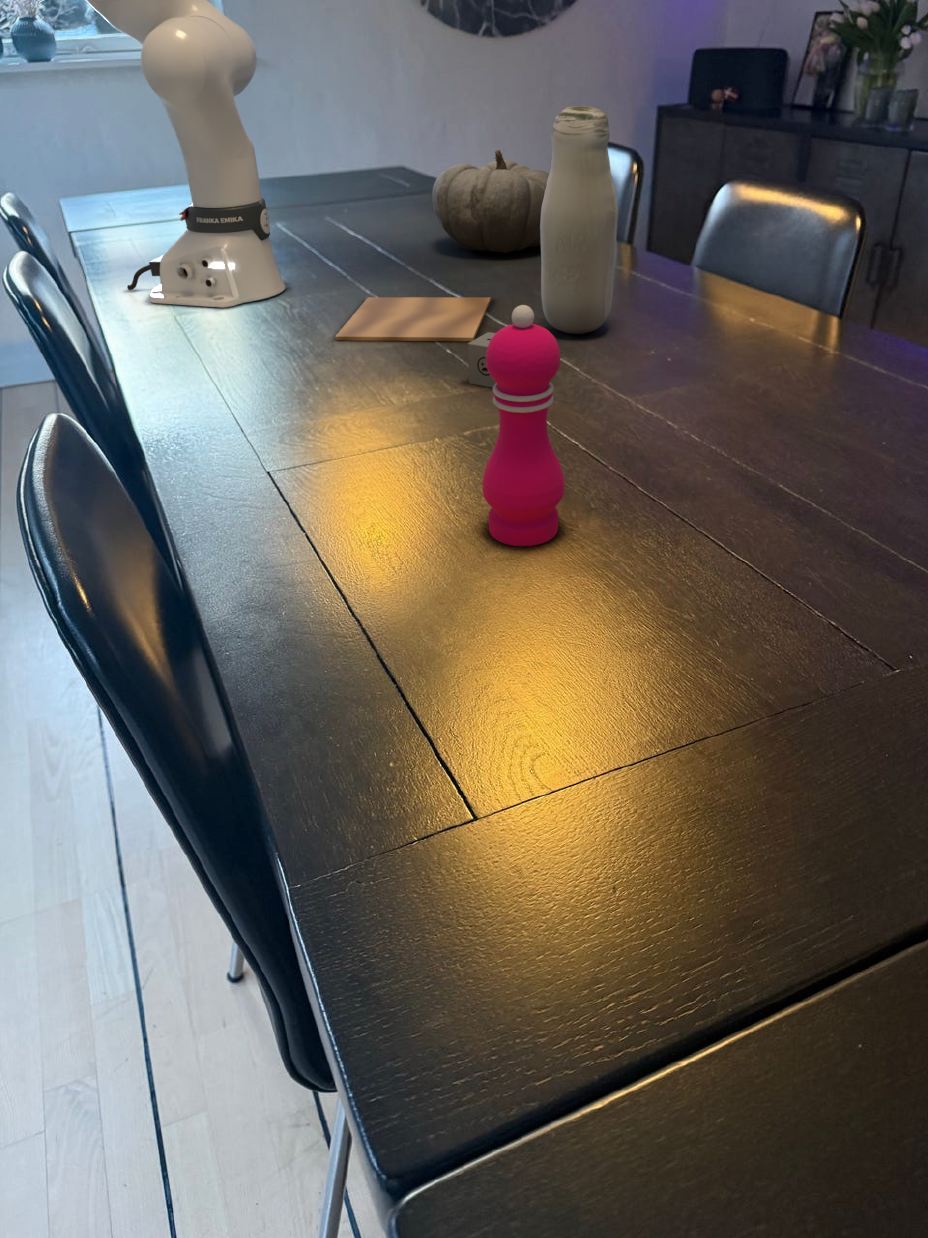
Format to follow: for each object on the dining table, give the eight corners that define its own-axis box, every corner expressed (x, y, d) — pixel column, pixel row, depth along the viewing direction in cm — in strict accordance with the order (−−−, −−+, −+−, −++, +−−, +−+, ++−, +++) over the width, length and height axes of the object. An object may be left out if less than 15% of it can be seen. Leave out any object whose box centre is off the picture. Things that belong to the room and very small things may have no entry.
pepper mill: (479, 514, 84) (472, 295, 73) (556, 508, 84) (560, 289, 73) (488, 553, 78) (481, 322, 67) (569, 546, 78) (577, 315, 67)
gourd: (405, 243, 165) (414, 137, 157) (457, 238, 186) (467, 144, 177) (532, 266, 158) (549, 157, 150) (571, 258, 179) (587, 161, 170)
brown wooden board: (335, 340, 129) (335, 336, 128) (368, 300, 145) (367, 297, 144) (473, 341, 126) (473, 337, 125) (490, 301, 142) (490, 297, 142)
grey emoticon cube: (503, 389, 110) (502, 349, 107) (468, 383, 112) (467, 343, 109) (523, 376, 113) (522, 337, 111) (489, 370, 116) (488, 331, 113)
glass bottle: (616, 322, 130) (629, 101, 114) (602, 344, 122) (613, 110, 106) (550, 318, 133) (554, 101, 117) (532, 339, 125) (533, 110, 109)
